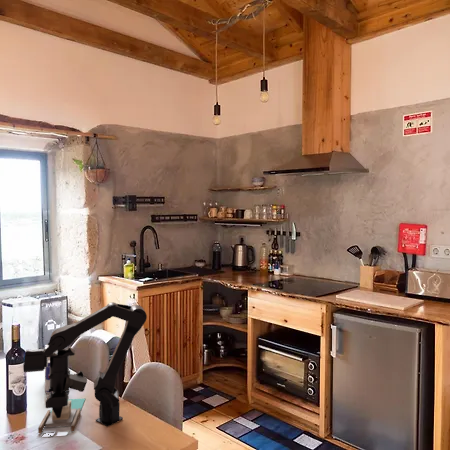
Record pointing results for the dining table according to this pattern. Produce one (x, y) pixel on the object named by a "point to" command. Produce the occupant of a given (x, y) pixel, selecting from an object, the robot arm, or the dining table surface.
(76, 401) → the mat
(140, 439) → the dining table surface
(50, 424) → the sled
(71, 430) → the channel
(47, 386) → the energy drink
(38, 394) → the dining table surface
